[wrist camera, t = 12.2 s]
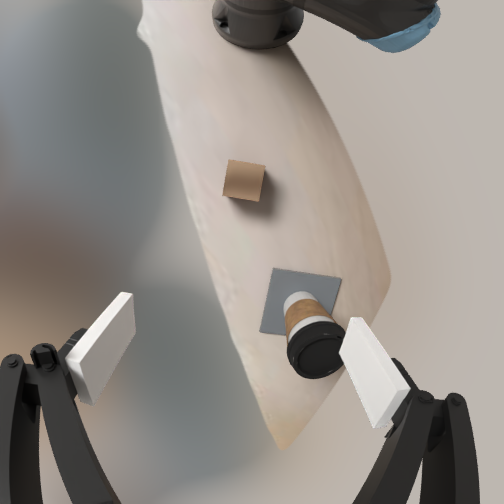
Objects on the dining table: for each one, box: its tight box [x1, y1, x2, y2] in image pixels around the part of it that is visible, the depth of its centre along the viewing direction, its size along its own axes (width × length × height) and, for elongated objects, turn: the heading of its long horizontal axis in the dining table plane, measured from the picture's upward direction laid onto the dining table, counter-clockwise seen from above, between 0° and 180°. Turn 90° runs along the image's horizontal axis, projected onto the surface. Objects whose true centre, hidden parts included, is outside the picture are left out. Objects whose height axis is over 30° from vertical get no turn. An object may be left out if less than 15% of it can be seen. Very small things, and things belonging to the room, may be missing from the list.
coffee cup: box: [284, 291, 346, 379], centre depth 39 cm, size 8×8×15 cm
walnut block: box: [222, 160, 265, 202], centre depth 38 cm, size 5×5×5 cm
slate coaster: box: [259, 268, 341, 335], centre depth 46 cm, size 12×12×1 cm
